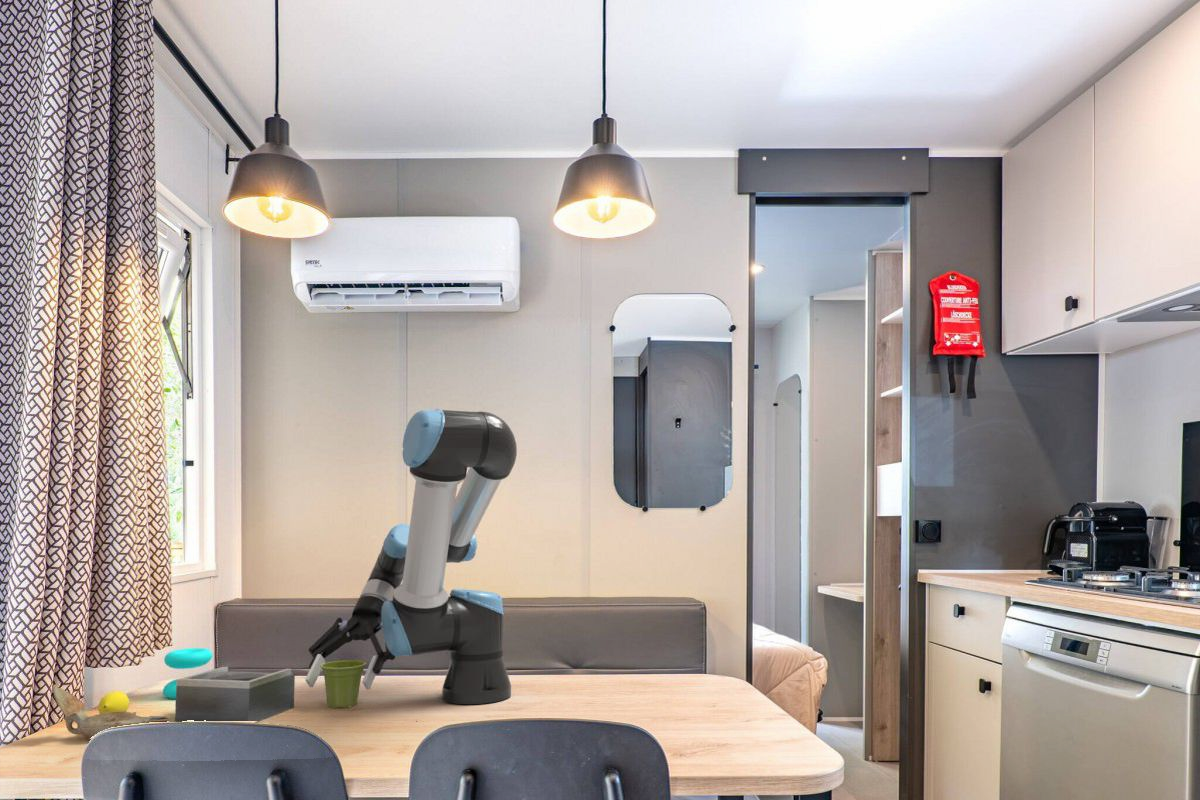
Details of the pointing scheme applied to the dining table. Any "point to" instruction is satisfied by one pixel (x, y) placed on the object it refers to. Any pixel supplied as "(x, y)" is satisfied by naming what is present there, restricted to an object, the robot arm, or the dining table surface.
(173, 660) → the donuts
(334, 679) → the plant pot
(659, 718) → the dining table surface
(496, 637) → the robot arm
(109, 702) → the lemon
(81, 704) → the oil lamp
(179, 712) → the gray open-top box
